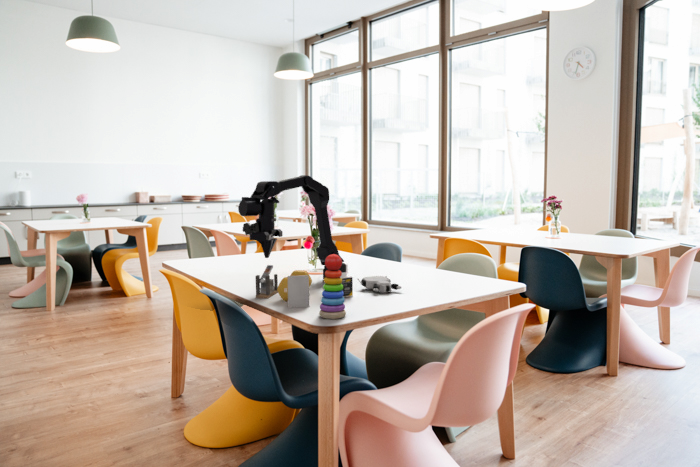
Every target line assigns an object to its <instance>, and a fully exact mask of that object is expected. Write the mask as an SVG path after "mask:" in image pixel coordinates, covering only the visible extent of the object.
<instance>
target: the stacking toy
mask: <svg viewBox="0 0 700 467" xmlns="http://www.w3.org/2000/svg"><path fill="white" fill-rule="evenodd" d="M340 257H341V256H340ZM340 257H339V256H338V255H336V254H331V255H329V256H328V257H327V258H326V260H325V265H326V267H327V269H328V270H327V271H326V272H325V276H326V277H325V278H324V279H323V280H324V281H323V282H324V284H323V286H322V288H323V290H322V292H321V295H322V297H321V299H320V301H321V303H320V304H319V309H320V310H319V313H318V315H319V317H321V318H324V319H327V320H337V319H338V320H339V319H342V318H344V317H346V314H347V311H346V310H345V309H346V305H345V304H344V303H345V301H346V299H345V297H343V295H344V292H343V291H342V289H343V285H342V284H341V283H342V278H340V277H341V275H342V272H341V271H340V270H339V269H340V267H341V265H342V260H341V258H342V257H341V258H340ZM325 265H324V266H325Z"/></svg>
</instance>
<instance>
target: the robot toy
mask: <svg viewBox="0 0 700 467" xmlns="http://www.w3.org/2000/svg"><path fill="white" fill-rule="evenodd" d="M357 280H358V282H359V283H360V285H361V286H363V288H365V289H366V290H368V291H369V290H371V291H373V292H374V293H375V292H379V293H380V294H387V293H390V292H392V290H395V291H396V290H400V289H402V286H400V285H399V284H397V283H391V282H392V281H391V279H390V278H389V277H388V276H387V275H386V276H383V275H382V276H381V275H380V276H379V275H374V276H373V275H372V276H370V275H369V276H364V277H363V278H362V279H361V280H360V278H357Z"/></svg>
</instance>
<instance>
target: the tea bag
mask: <svg viewBox="0 0 700 467" xmlns="http://www.w3.org/2000/svg"><path fill="white" fill-rule="evenodd" d="M309 275H310V274H309ZM309 275H301V276H290V275H288V276H287V277H288V301H287V307H288V309H290V308H308V307H310V306H311V305H310V287H309Z"/></svg>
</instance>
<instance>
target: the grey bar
mask: <svg viewBox="0 0 700 467" xmlns="http://www.w3.org/2000/svg"><path fill="white" fill-rule="evenodd" d="M265 267H266V268H265V269H264V271H263V273H262V275H261V277H260V279H259V282H260V284H261V283H266V276H267V275H271V272H272V270H273V268H274V265H271V264H270V265H269V264H267V266H265Z"/></svg>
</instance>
